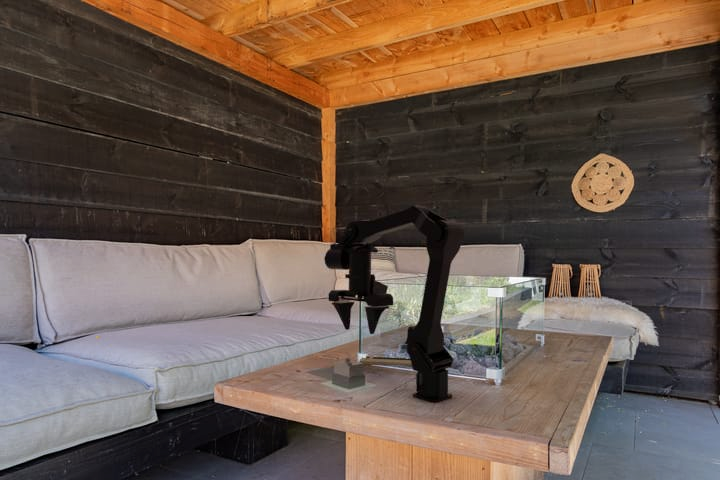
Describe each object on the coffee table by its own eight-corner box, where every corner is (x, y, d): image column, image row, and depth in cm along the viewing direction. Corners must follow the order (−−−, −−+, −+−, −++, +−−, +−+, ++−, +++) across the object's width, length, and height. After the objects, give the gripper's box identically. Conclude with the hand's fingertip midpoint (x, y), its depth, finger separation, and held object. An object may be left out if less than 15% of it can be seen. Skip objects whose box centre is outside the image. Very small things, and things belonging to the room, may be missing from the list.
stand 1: (357, 379, 121) (357, 373, 121) (330, 385, 115) (330, 379, 115) (332, 372, 128) (332, 366, 128) (305, 377, 122) (305, 371, 122)
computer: (417, 366, 137) (417, 355, 137) (416, 373, 129) (416, 361, 129) (362, 364, 139) (363, 353, 140) (359, 371, 131) (359, 359, 132)
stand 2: (377, 391, 110) (377, 385, 110) (347, 399, 104) (347, 392, 104) (348, 383, 117) (348, 376, 117) (319, 389, 111) (319, 383, 111)
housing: (348, 380, 115) (348, 356, 115) (365, 385, 110) (365, 361, 110) (332, 383, 111) (332, 359, 111) (349, 389, 107) (349, 364, 107)
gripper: (408, 271, 121) (408, 333, 120) (358, 268, 134) (357, 324, 134) (377, 271, 113) (376, 338, 113) (327, 269, 127) (326, 328, 126)
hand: (359, 331), depth 122 cm, fingers open, 9 cm apart
